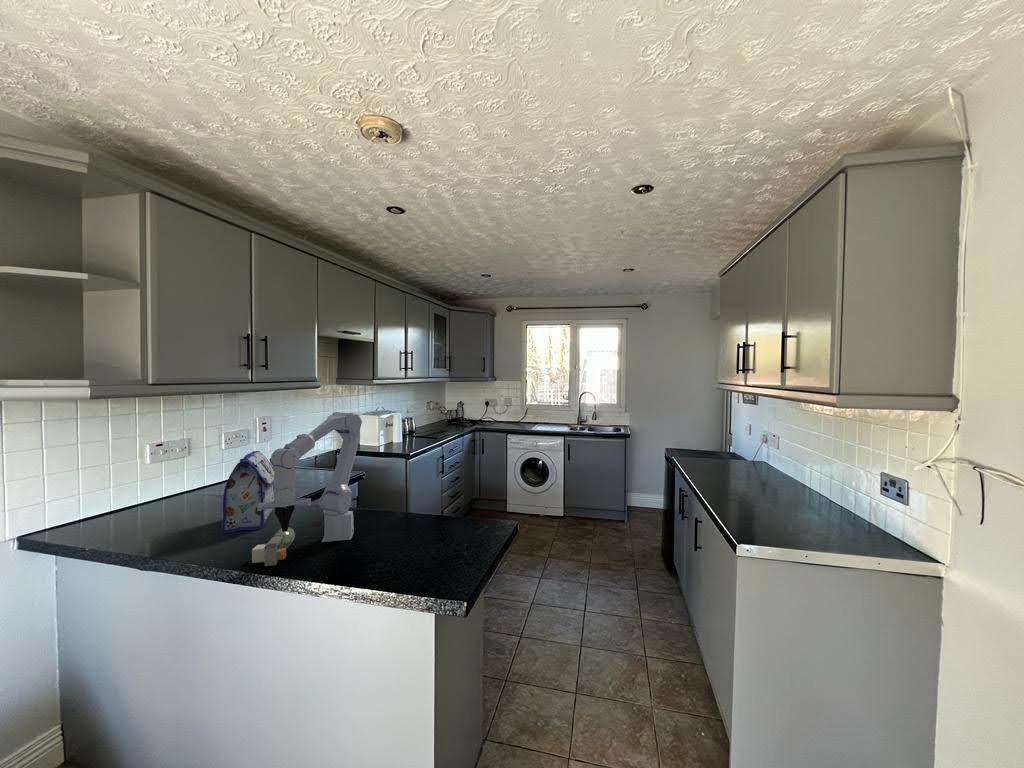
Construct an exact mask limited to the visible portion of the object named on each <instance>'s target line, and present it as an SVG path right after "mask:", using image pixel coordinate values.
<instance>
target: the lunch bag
mask: <svg viewBox="0 0 1024 768" xmlns="http://www.w3.org/2000/svg"><path fill="white" fill-rule="evenodd" d="M270 501H274V471H273V466H272V465H271V463H270V461H269V459H268V458H267V457H266V456H265V454H263V453H262V452H261V451H260V450H254V451H251V452H249V453H247V454H245V455H244V456H243V458H240V459H239V462H237V464H236V465H235V467H234V468H233V469H232V471H231V473H230V475H229V476H228V479H227V481H226V484H225V487H224V491H223V496H222V523H221V529H220V530H221V532H222V533H223V534H225V533H227V534H228V533H233V532H234V533H235V532H238V531H254V530H261V529H264V525H265V523H266V520H267V519H268V518H269V516H270V514H271V513H272V512H273V511H274V509H267V510H262V511H258V504H259V503H264V502H270Z"/></svg>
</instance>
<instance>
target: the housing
mask: <svg viewBox="0 0 1024 768" xmlns="http://www.w3.org/2000/svg"><path fill="white" fill-rule="evenodd" d="M295 537H296V532H295V531H294V529H293V528H292V527H289V526H288V531H287V532H282V527H281V528H280V529H278V531H277V532H276V533H275V534H273V536H272V537H271V538H270V540H269V541H268V542H267V543H265V544H266V545H265V547H264V561H265V562H264V567H269V566H276V565H277V564H278V561H279V560H278V549H283V548H286V550H287V549H289V547H290V545H291V544H292V543H293V541H294V540H295Z"/></svg>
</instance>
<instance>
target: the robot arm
mask: <svg viewBox="0 0 1024 768" xmlns="http://www.w3.org/2000/svg"><path fill="white" fill-rule="evenodd" d="M362 424H363V421H362V418H361V416H360V415H359V414H358V413H357V412H340V411H334V412H333V413H332V414H330V415H328V416H327V417H326V419H325V420H323V421H322V423H320V424H319V425H318V426H317V427H315V428H314V429H313V430H312V431H310V432H309V433H308V434H306V433H301V434H300V433H299V434H298V435H296V438H295V439H293V440H291V441H290V442H289V443H285V444H284V447H283V448H281V447H280V448H277V449H276V450H274V451H273V452H272V454H271V456H270V457H269V459H268V461H269V462H270V464H271V465H272V466H273V471H274V501H270V502H264V503H259V504H258V511H262V510H267V509H273V510H274V514H275V516H276V518H277V519H278V522H279V524H280V527H281V528H282V532H287V531H288V527H289V524H290V522H291V518H292V514H293V513H294V510H295V508H296V507H302V506H308V507H309V506H311V504H312V498H311V497H307V498H303V497H302V498H300V497H299V498H296V466H297V465H298V463H299V461H300V459H301V458H302V457H303V456H305V455H306V454H307V453H308V452H310V451H312V449H314V448H315V445H316V442H318V441H319V440H321V439H323V437H326V436H327V435H328V434H330V433H331V432H333V431H335V432H336V433H337V434H338V435H340V437H341V438H342V443H341V447H340V450H339V454H338V458H337V461H336V465H335V468H334V469H335V470H334V472H333V476H332V480H331V483H330V484H328V485H327V486H326V487H324V491H323V493H322V495H321V496H320V498H319V501H318V502H319V504H318V505H319V507H320V508H321V509H322V513H324V517H323V518H324V519H323V520H324V536H323V537H322V540H321V543H328V542H337V541H348V540H350V541H351V540H352V538H353V535H354V530H355V529H354V511H353V510H349V509H350V508H351V506H352V494H353V491H352V490H351V488H350V487H349V486H348V485H349V482H350V477H351V474H352V471H353V467H354V463H355V458H356V455H357V451H358V447H359V442H360V440H361V427H362Z"/></svg>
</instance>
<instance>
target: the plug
mask: <svg viewBox="0 0 1024 768" xmlns="http://www.w3.org/2000/svg"><path fill="white" fill-rule="evenodd" d="M266 544H267V543H263V544H257V545H256V546H254V547H253V548H251V549H252V550H251V563H253V564H254V563H255V564H256V563H265V561H264V547H265V545H266ZM286 557H287V549H286V548H283V549H278V561H279V560H280V561H281V560H285V558H286Z"/></svg>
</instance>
